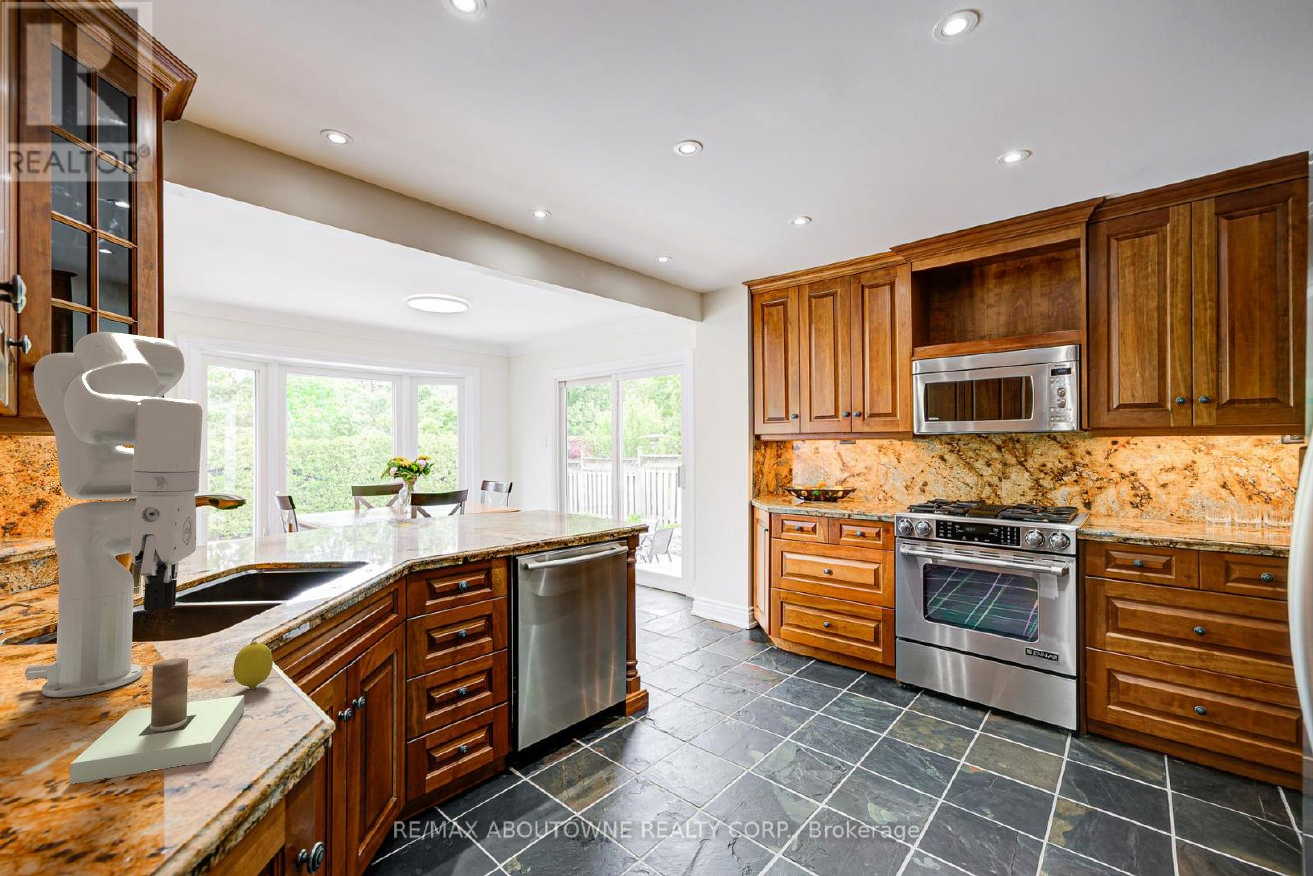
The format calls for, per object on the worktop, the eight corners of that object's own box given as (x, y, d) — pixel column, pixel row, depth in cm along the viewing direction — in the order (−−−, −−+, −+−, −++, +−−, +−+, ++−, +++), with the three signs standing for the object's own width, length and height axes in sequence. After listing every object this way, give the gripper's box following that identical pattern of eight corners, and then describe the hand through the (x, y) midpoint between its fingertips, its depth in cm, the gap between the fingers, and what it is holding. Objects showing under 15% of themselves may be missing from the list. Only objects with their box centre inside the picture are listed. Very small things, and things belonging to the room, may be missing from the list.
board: (69, 784, 70) (70, 763, 70) (129, 727, 85) (130, 710, 85) (210, 761, 75) (211, 742, 76) (243, 711, 90) (244, 695, 90)
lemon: (237, 685, 100) (238, 638, 101) (275, 680, 103) (276, 635, 103) (228, 697, 95) (229, 648, 96) (268, 692, 98) (269, 644, 98)
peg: (144, 752, 78) (147, 669, 78) (156, 739, 81) (158, 660, 82) (180, 747, 79) (182, 665, 80) (190, 734, 83) (192, 656, 83)
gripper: (178, 488, 79) (171, 623, 79) (214, 479, 93) (208, 593, 93) (108, 488, 76) (100, 627, 76) (155, 478, 90) (149, 596, 90)
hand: (159, 608), depth 84 cm, fingers closed
